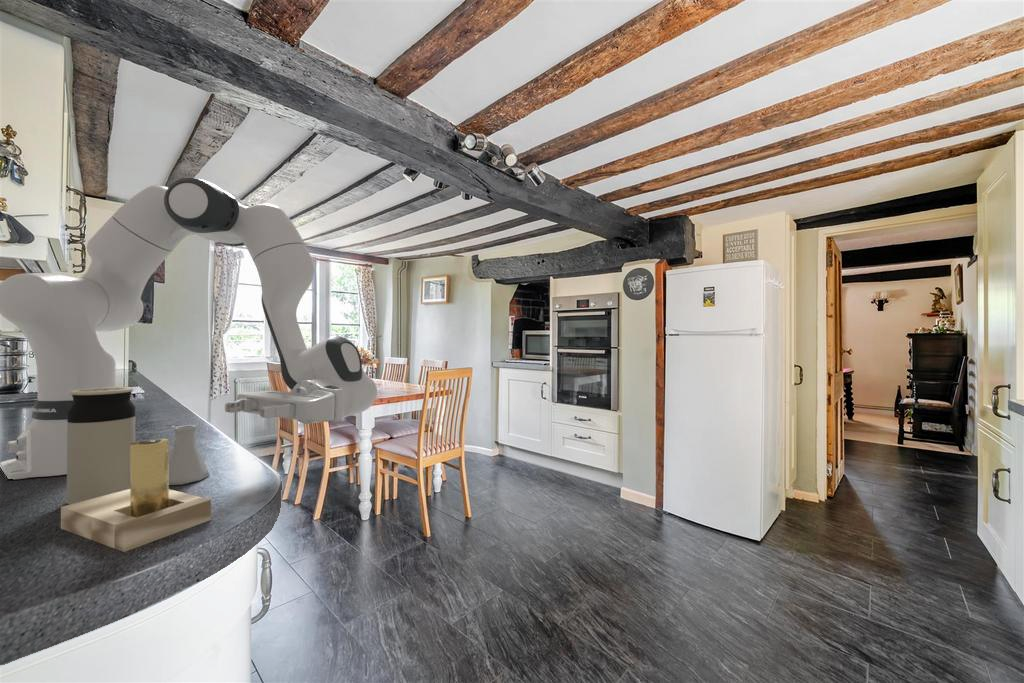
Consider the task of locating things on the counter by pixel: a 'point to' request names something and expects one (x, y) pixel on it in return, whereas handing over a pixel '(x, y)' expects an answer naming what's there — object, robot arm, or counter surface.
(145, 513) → the gold metal post
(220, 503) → the counter surface
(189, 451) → the flask
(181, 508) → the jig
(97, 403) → the travel mug
